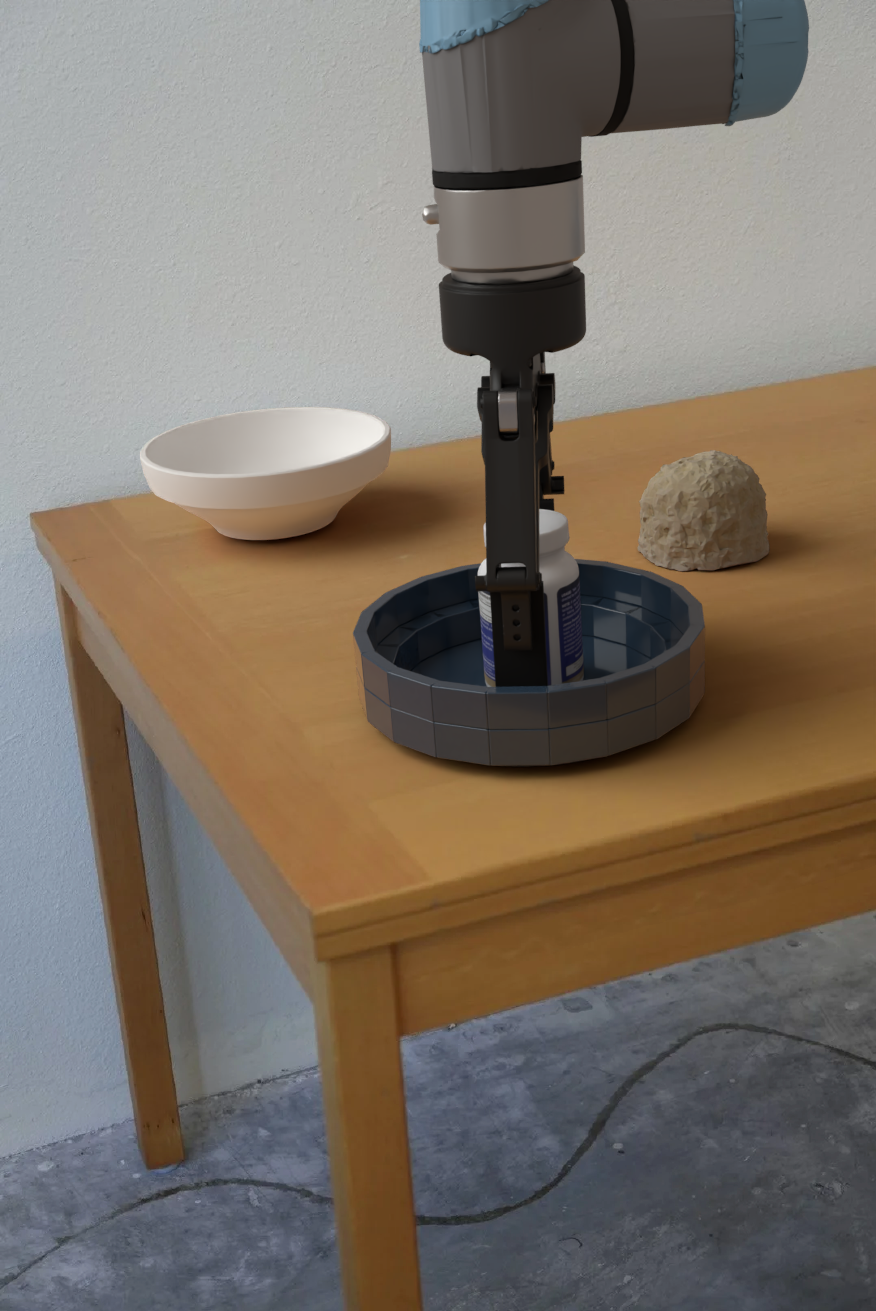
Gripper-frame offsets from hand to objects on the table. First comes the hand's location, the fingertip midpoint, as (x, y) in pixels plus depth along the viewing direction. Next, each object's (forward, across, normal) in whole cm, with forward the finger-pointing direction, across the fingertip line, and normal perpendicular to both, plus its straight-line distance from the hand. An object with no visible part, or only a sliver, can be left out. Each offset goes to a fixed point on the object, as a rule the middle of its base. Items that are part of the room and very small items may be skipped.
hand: (529, 648), depth 84 cm
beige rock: (+3, -24, +11) cm, 27 cm away
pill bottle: (+2, 0, 0) cm, 3 cm away
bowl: (+3, -32, -22) cm, 39 cm away
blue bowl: (+3, 0, 0) cm, 3 cm away
